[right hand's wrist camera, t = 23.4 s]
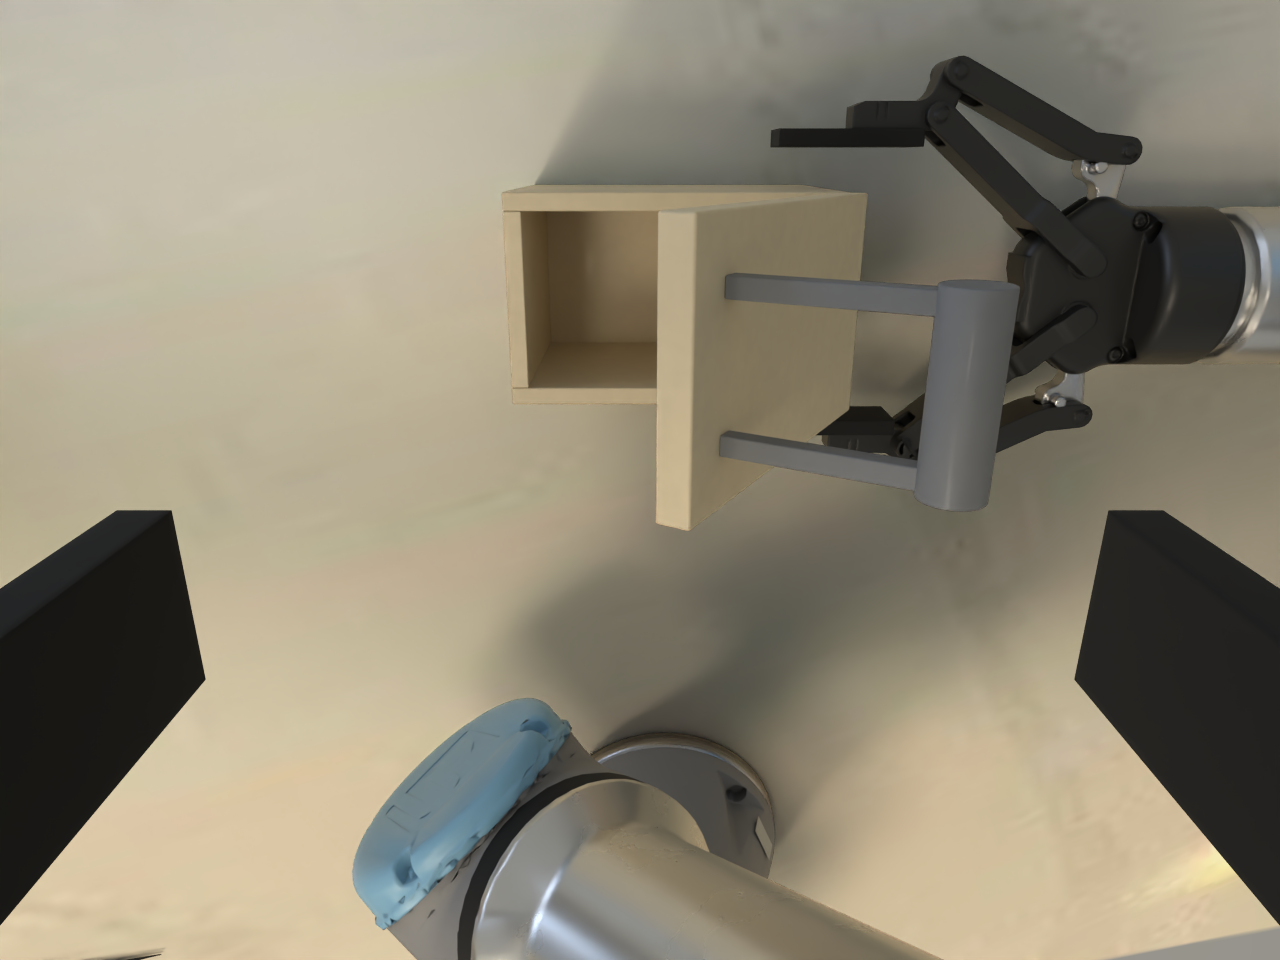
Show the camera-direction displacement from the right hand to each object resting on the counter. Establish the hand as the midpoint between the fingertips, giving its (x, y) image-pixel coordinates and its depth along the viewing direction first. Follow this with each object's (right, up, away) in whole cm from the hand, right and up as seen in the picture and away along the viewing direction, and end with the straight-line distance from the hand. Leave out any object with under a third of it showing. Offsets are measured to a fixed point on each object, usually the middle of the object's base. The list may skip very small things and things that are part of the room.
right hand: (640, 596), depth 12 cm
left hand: (+6, +11, +30) cm, 33 cm away
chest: (+2, +13, +36) cm, 38 cm away
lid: (+4, +7, +19) cm, 20 cm away
